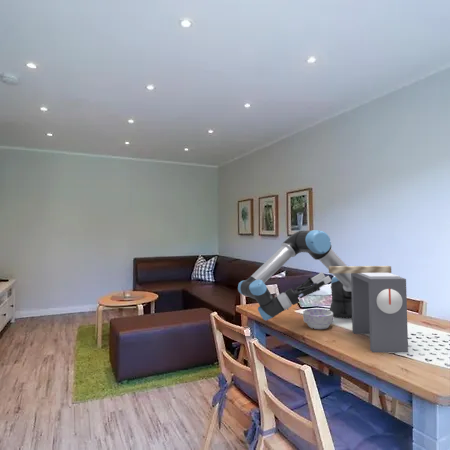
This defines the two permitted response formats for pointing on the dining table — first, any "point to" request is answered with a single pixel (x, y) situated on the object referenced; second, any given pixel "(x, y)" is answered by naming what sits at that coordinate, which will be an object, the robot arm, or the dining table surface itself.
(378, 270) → the beech bar
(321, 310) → the paper bowls
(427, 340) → the dining table surface
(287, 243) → the robot arm
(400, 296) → the scale shelf
